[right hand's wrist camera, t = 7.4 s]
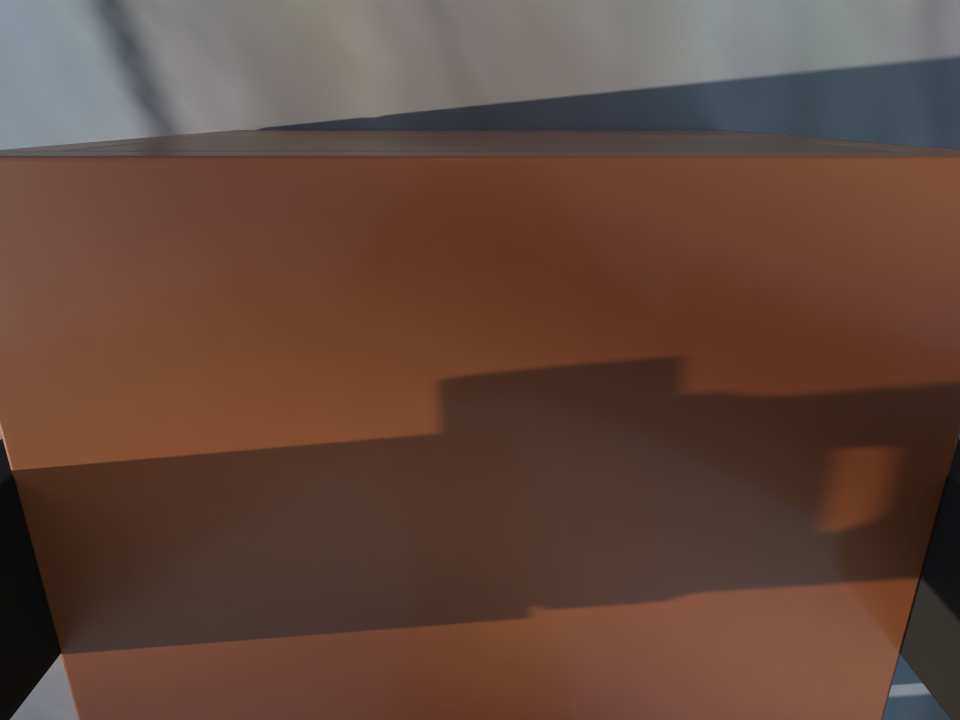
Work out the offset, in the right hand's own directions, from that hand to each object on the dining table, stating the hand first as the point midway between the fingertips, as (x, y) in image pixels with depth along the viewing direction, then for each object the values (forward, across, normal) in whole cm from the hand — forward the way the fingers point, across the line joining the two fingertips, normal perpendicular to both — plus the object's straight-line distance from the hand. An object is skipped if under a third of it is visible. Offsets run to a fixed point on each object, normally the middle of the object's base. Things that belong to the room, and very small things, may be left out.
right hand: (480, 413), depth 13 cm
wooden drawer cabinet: (+5, 0, -4) cm, 6 cm away
